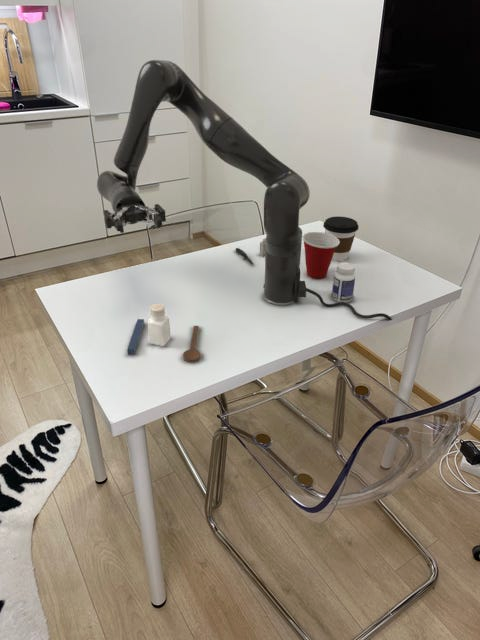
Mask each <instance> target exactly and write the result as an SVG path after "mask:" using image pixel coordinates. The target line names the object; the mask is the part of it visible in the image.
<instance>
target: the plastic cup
mask: <svg viewBox="0 0 480 640" xmlns="http://www.w3.org/2000/svg"><path fill="white" fill-rule="evenodd" d="M302 242H303V247H304V258H305V259H304V260H305V267H306V275H307V277H308V278H310V279H313V280H323V279H325V278H326V277H327V275H328V273H329V268H330V267H331V264H332V261H333V260H332V257H333V254H334V251H335V249H336V247H337V246H338V245H339V243H340V241H339V239H338V238H336V237H335V236H333V235H330V234H327V233H325V232H323V231H321V232H320V231H309V232H306V233H304V234H302Z"/></svg>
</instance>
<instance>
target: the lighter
mask: <svg viewBox="0 0 480 640" xmlns="http://www.w3.org/2000/svg"><path fill="white" fill-rule="evenodd" d="M259 256H260V257H265V256H266V237H265V238H263V239H262V241H261V242H260V241H259Z"/></svg>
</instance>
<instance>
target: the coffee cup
mask: <svg viewBox="0 0 480 640" xmlns="http://www.w3.org/2000/svg"><path fill="white" fill-rule="evenodd" d="M323 228H324V229H325V230H324V233H327V234H330V235H333V236H335V237H336V238H338V239H339V241H340V243H339V245H338V246H337V247H336V249H335V251H334V254H333V257H332V260H331V261H334V262H344V261H346V260H347V258H348V257H349V254H350V252H351V249H352V247H353V243H354V239H355V236H356V232H357V231H358V230H359V224H358V221H357V220H356V219H353V218H351V217H347V216H339V215H337V216H331V217H328V218H326V219H325V221H323Z"/></svg>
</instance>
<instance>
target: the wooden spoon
mask: <svg viewBox="0 0 480 640" xmlns="http://www.w3.org/2000/svg"><path fill="white" fill-rule="evenodd" d="M199 327H200V326H199V325H193V329H192V335H191V341H190V347H189V349H187V350H185V351H184V352H183V353H182V358H183V360H184V361H185V362H186V363H191V364H192V363H196V362H199V361H200V360H201V357H202V354H201V351H200V350H199V349H197V343H198V337H199V329H200V328H199Z"/></svg>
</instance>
